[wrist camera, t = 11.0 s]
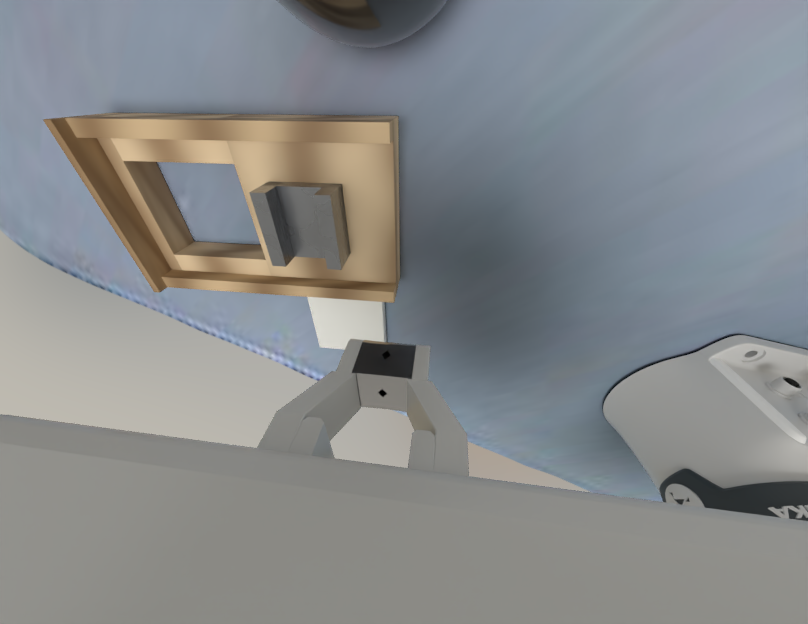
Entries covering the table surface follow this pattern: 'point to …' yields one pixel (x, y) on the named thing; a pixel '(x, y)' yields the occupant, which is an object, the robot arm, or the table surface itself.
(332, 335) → the white square plate
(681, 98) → the table surface
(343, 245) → the clip
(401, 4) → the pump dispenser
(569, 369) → the table surface
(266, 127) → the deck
